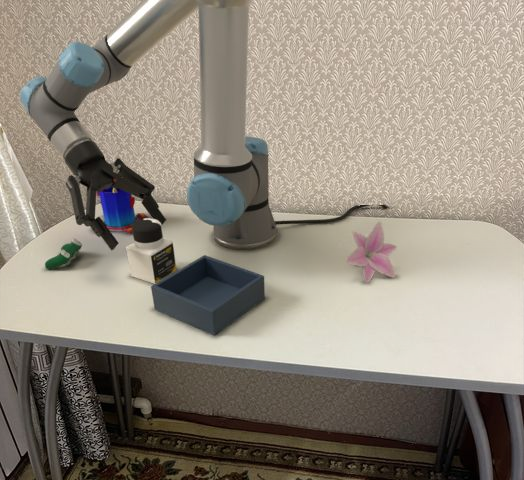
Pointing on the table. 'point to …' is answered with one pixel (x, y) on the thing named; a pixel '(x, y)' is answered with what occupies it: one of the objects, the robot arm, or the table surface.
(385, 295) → the table surface
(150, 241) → the medicine bottle
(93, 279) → the table surface
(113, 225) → the fantasy tower
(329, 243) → the table surface
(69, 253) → the gaming controller
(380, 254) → the lily
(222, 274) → the tote
